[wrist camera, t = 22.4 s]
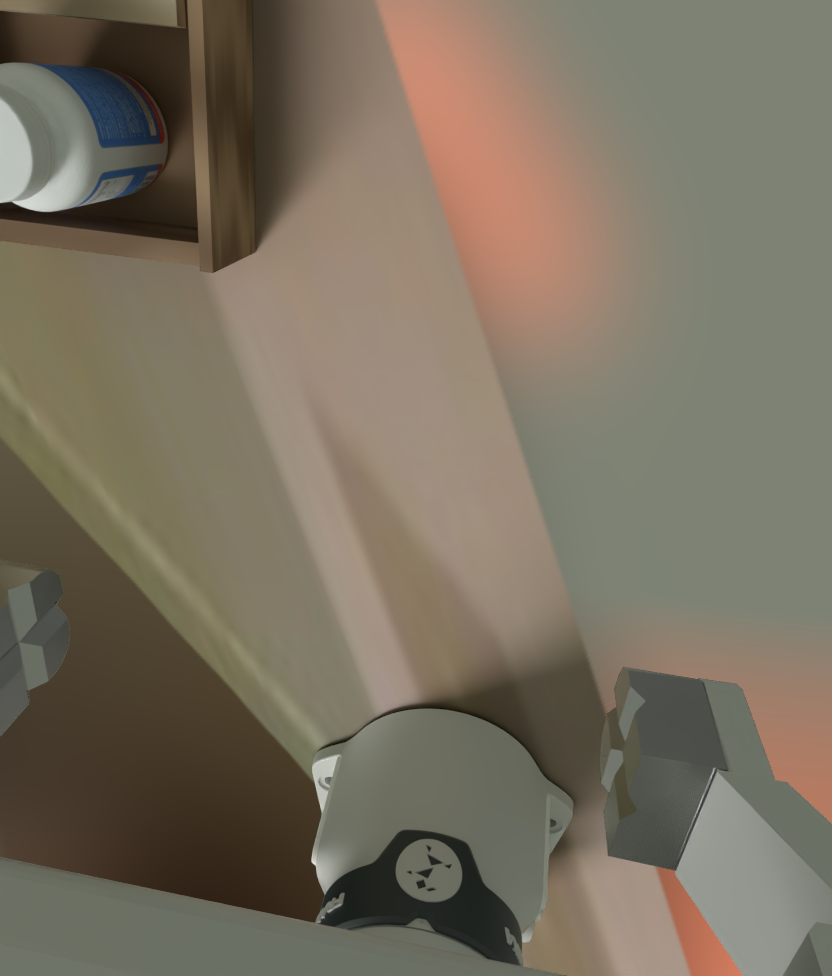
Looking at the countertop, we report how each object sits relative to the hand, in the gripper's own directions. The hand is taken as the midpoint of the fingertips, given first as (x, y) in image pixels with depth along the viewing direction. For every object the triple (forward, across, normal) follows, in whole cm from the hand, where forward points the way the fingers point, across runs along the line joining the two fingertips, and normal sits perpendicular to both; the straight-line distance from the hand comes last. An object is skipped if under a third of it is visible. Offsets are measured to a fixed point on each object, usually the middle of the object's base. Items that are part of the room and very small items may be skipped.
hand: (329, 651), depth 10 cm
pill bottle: (+28, +18, -4) cm, 34 cm away
